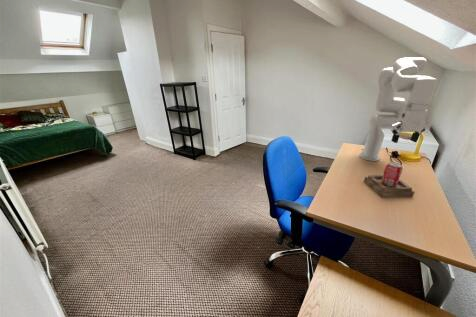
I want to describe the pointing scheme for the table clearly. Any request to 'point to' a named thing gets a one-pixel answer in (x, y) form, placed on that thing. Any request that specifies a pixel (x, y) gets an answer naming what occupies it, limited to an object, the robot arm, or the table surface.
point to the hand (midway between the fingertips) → (403, 141)
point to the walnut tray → (388, 187)
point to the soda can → (392, 174)
